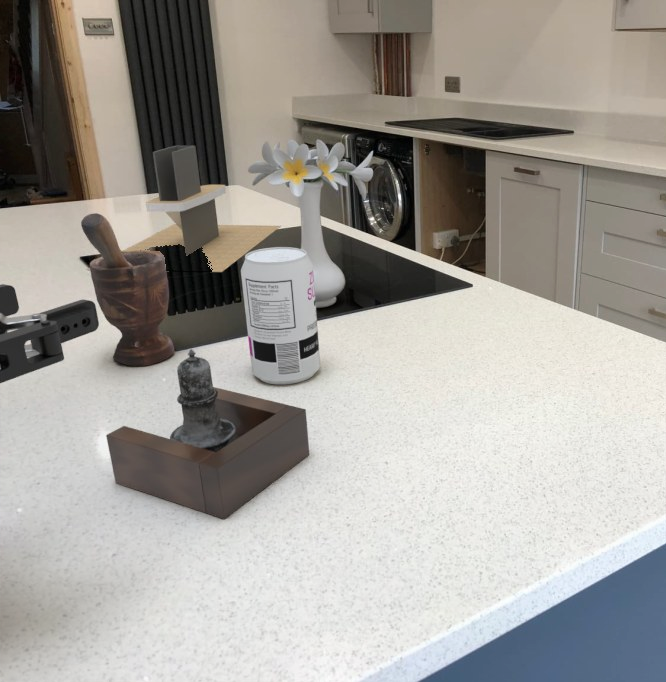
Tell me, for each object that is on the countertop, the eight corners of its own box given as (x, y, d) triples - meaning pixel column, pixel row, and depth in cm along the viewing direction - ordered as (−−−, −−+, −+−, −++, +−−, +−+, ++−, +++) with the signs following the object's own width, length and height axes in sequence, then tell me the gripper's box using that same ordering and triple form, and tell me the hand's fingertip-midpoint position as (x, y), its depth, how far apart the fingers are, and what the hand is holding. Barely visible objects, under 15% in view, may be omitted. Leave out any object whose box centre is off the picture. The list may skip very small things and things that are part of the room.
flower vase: (389, 304, 115) (383, 140, 106) (272, 322, 107) (256, 147, 98) (360, 282, 126) (353, 132, 117) (252, 298, 118) (235, 138, 109)
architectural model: (173, 224, 169) (161, 136, 162) (281, 225, 168) (273, 136, 161) (86, 269, 134) (65, 159, 127) (221, 272, 132) (208, 160, 125)
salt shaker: (162, 470, 69) (141, 353, 65) (212, 444, 74) (196, 333, 69) (202, 489, 66) (184, 367, 62) (252, 461, 71) (239, 346, 66)
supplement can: (241, 371, 91) (227, 253, 85) (300, 354, 96) (291, 242, 90) (271, 392, 85) (258, 268, 80) (333, 374, 90) (325, 255, 85)
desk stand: (115, 483, 67) (105, 434, 65) (209, 427, 77) (203, 384, 75) (224, 519, 62) (217, 468, 60) (309, 454, 72) (306, 408, 70)
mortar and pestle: (179, 373, 90) (154, 212, 83) (102, 383, 88) (70, 217, 80) (178, 341, 100) (156, 194, 93) (110, 349, 98) (82, 199, 90)
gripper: (-170, 346, 35) (113, 265, 48) (-311, 306, 41) (-23, 244, 54) (-124, 483, 37) (132, 369, 51) (-263, 427, 43) (0, 338, 57)
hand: (52, 305), depth 53 cm, fingers open, 8 cm apart
